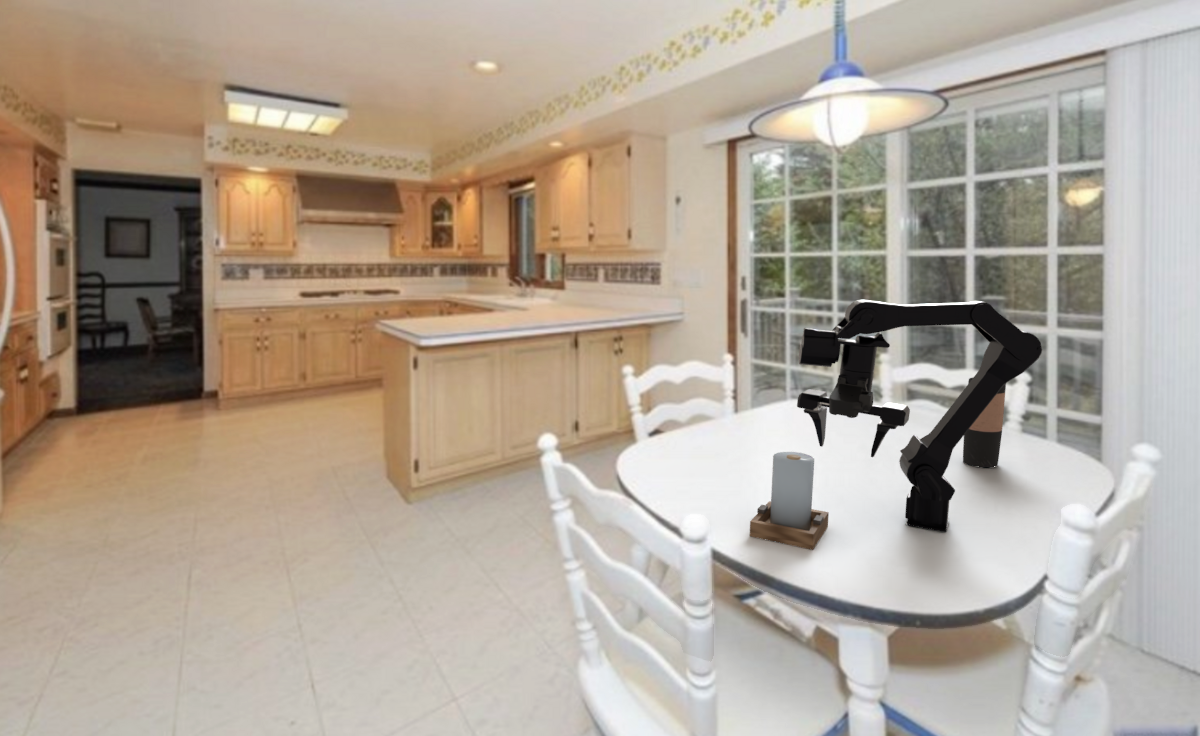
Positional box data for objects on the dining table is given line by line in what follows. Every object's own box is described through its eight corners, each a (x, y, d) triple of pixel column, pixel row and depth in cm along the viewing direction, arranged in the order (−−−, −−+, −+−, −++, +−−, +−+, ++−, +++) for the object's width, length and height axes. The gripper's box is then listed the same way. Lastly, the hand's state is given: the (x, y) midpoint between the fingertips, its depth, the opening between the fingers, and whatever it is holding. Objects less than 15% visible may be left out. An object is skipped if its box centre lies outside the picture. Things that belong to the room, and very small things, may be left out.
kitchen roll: (806, 519, 120) (810, 451, 118) (813, 536, 113) (818, 463, 111) (767, 518, 121) (770, 450, 118) (772, 534, 114) (776, 462, 112)
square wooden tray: (828, 526, 119) (829, 508, 118) (813, 550, 109) (814, 530, 109) (768, 514, 124) (768, 497, 124) (749, 536, 115) (749, 517, 115)
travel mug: (956, 457, 157) (962, 376, 153) (990, 458, 156) (997, 377, 152) (969, 468, 149) (976, 383, 146) (1005, 469, 148) (1013, 383, 145)
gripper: (792, 367, 116) (783, 450, 119) (904, 384, 106) (891, 474, 109) (810, 360, 125) (801, 437, 128) (915, 374, 115) (903, 458, 118)
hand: (846, 451), depth 121 cm, fingers open, 9 cm apart
